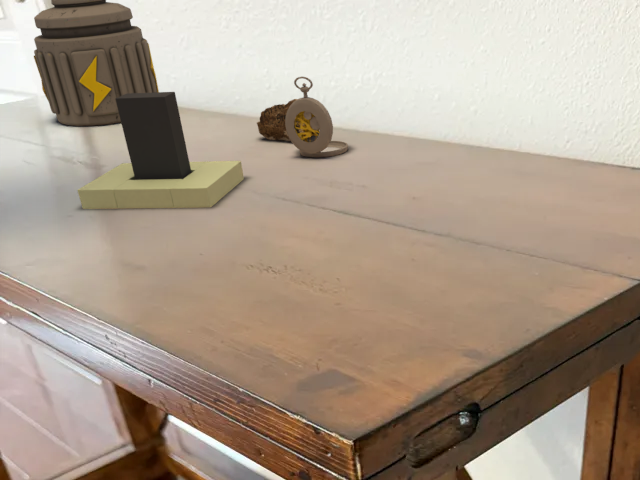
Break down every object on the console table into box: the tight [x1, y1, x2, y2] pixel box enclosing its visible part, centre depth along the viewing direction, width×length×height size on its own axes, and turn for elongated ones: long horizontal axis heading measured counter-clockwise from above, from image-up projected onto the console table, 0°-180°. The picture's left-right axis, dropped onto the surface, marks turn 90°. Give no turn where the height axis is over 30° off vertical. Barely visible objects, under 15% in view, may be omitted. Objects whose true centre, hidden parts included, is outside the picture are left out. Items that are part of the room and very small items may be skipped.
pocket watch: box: [285, 76, 349, 158], centre depth 107 cm, size 8×8×10 cm
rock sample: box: [256, 98, 317, 142], centre depth 118 cm, size 10×8×9 cm
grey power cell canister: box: [33, 0, 160, 127], centre depth 135 cm, size 19×19×30 cm
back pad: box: [115, 91, 191, 180], centre depth 96 cm, size 6×3×11 cm, turn 80°
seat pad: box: [76, 160, 245, 210], centre depth 98 cm, size 16×12×2 cm
